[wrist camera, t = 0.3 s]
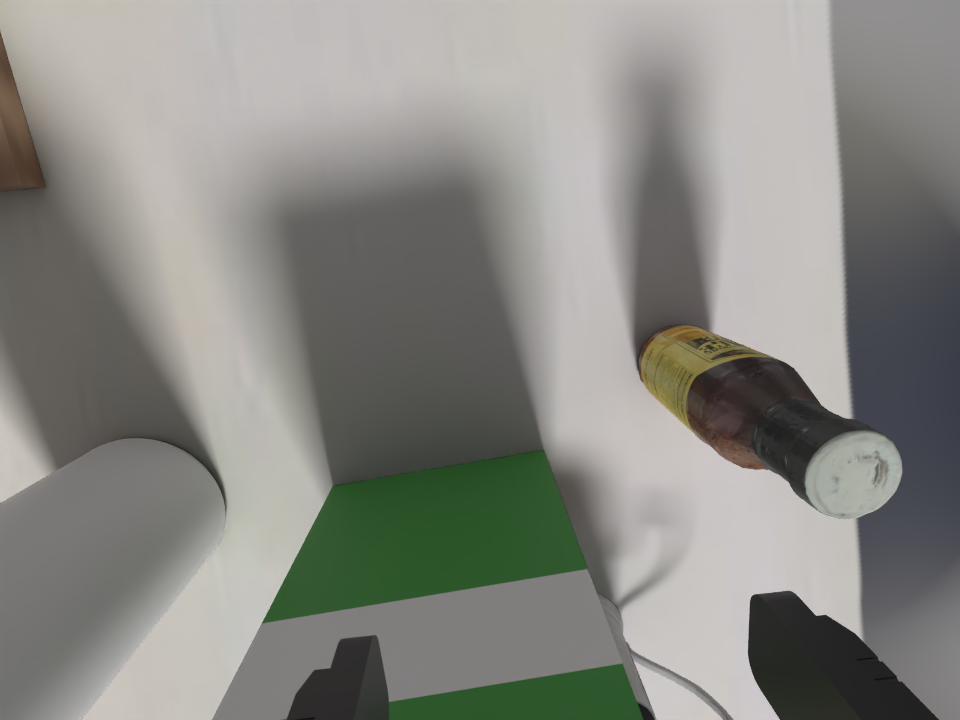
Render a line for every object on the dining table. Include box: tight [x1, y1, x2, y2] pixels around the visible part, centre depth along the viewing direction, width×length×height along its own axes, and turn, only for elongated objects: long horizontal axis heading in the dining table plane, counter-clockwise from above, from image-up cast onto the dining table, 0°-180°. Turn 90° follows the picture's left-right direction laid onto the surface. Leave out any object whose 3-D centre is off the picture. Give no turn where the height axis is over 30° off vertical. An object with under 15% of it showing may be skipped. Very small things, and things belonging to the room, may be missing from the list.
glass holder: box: [597, 594, 733, 720], centre depth 38 cm, size 9×14×15 cm, turn 92°
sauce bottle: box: [639, 325, 902, 519], centre depth 30 cm, size 6×6×20 cm
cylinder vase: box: [0, 438, 226, 720], centre depth 29 cm, size 12×12×25 cm
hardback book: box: [212, 450, 643, 720], centre depth 30 cm, size 18×7×24 cm, turn 100°
